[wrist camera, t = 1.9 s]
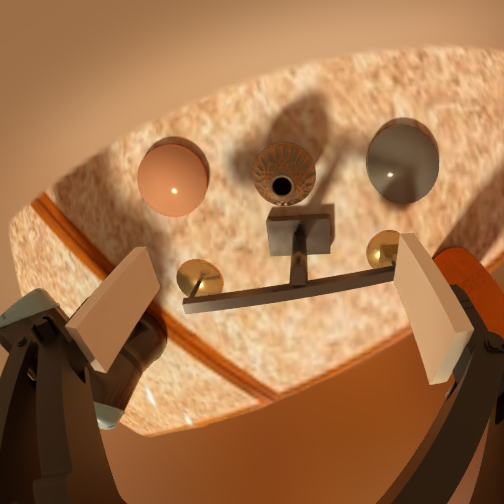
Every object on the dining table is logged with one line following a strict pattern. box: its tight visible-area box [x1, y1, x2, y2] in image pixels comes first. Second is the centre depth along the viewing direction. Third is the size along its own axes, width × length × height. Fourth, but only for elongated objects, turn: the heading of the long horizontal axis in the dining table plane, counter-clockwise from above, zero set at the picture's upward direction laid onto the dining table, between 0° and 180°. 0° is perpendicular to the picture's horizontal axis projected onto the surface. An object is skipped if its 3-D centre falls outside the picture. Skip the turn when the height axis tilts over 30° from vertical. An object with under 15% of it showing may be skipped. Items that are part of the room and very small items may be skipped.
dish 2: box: [366, 125, 439, 204], centre depth 29 cm, size 10×10×1 cm
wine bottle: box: [433, 247, 504, 339], centre depth 23 cm, size 10×10×30 cm
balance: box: [176, 214, 400, 314], centre depth 30 cm, size 26×5×15 cm, turn 98°
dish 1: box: [138, 144, 208, 217], centre depth 35 cm, size 10×10×1 cm
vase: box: [253, 142, 316, 206], centre depth 29 cm, size 7×7×9 cm
